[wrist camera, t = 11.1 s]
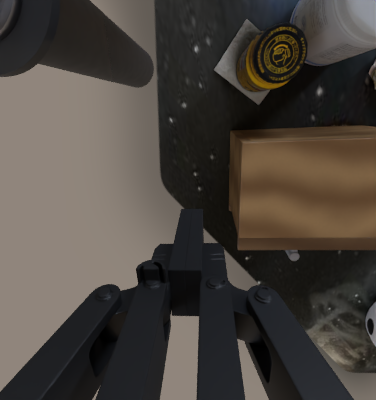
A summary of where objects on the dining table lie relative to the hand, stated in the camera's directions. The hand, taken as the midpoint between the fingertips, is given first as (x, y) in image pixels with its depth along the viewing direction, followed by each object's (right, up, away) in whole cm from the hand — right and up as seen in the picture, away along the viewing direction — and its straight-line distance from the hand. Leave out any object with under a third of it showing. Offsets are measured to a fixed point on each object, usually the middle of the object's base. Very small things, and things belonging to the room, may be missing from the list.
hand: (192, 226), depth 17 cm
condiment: (+9, +21, +17) cm, 29 cm away
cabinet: (+17, +8, +22) cm, 29 cm away
